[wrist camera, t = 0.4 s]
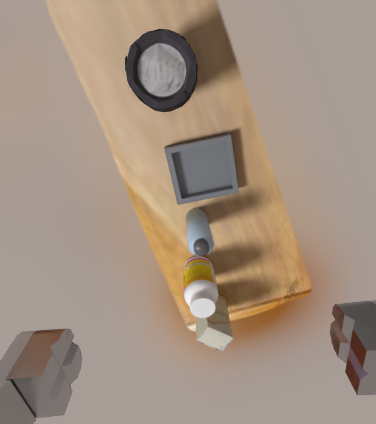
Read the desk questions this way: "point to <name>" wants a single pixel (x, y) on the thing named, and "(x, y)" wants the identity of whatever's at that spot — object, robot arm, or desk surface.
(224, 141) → the box
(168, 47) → the portable speaker
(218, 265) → the desk surface
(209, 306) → the supplement bottle
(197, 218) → the blue bottle
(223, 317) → the skincare box
